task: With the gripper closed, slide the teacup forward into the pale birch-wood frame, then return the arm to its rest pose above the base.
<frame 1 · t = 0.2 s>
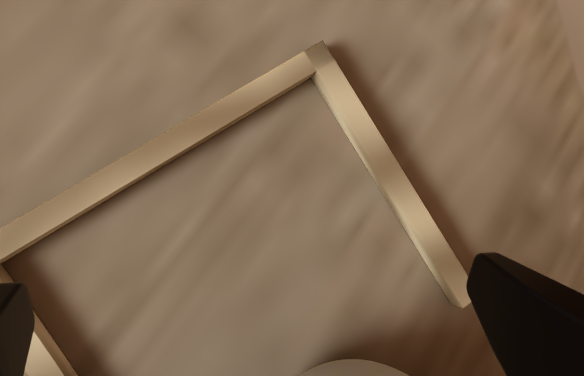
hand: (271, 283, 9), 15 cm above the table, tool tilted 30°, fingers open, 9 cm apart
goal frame: (246, 285, 23), on the table
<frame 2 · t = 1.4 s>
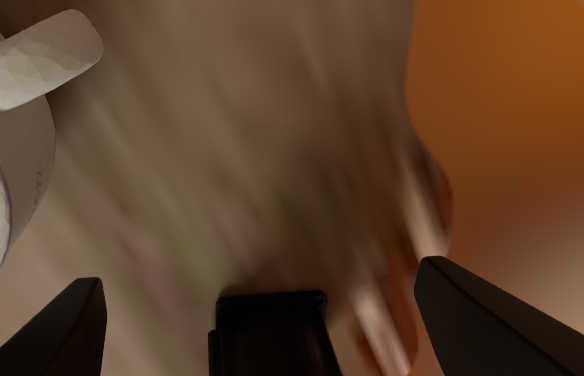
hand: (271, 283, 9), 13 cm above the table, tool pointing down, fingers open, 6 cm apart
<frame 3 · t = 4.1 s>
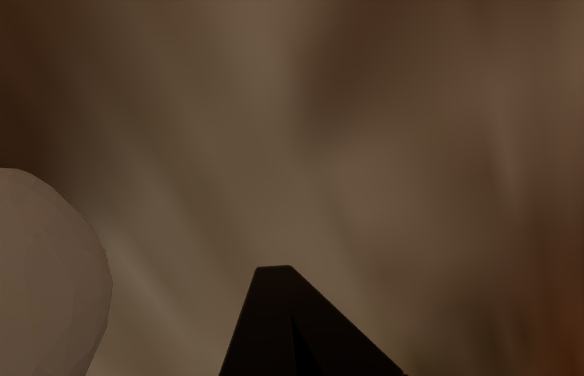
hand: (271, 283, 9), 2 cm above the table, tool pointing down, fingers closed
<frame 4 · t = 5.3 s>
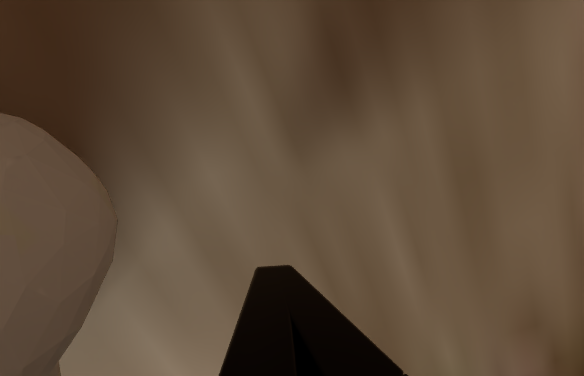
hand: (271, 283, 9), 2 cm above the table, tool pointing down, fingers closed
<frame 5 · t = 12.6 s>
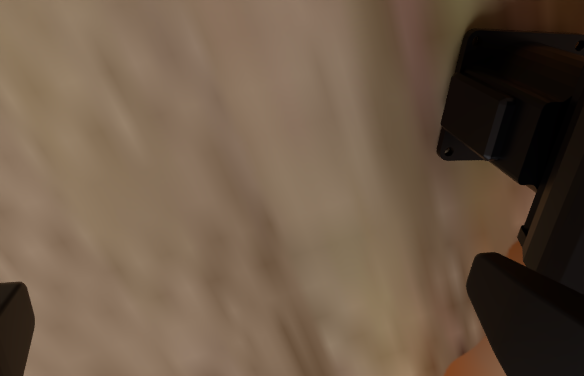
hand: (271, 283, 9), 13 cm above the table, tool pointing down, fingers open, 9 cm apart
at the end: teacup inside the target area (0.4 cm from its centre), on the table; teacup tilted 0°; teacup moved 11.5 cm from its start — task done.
